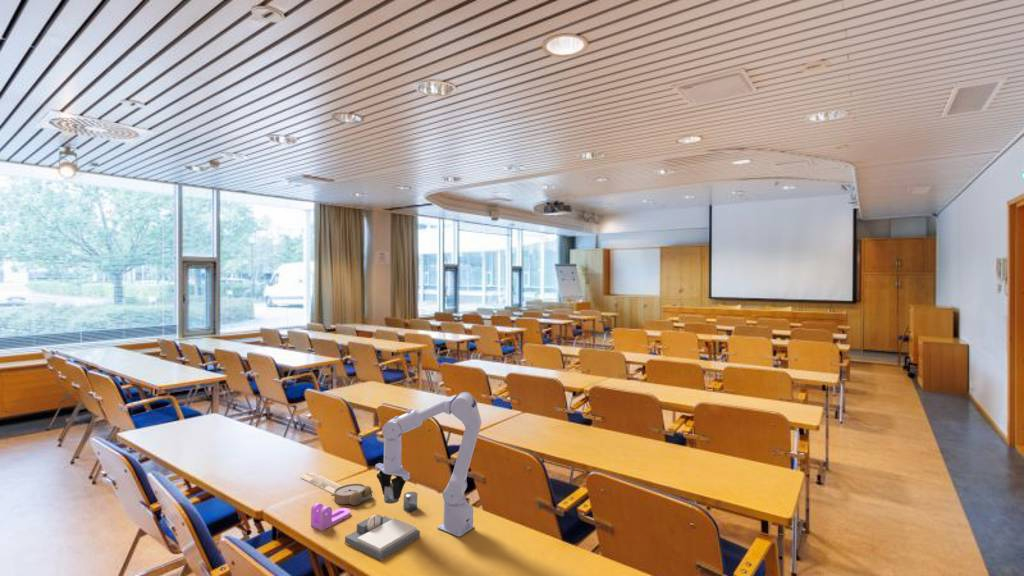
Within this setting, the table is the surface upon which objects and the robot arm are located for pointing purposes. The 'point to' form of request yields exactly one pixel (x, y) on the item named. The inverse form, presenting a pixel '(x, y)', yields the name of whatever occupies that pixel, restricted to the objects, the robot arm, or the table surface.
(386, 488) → the cylinder
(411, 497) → the cylinder
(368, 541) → the scale
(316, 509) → the bracket
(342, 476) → the table surface
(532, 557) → the table surface
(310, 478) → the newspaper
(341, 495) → the alarm clock
